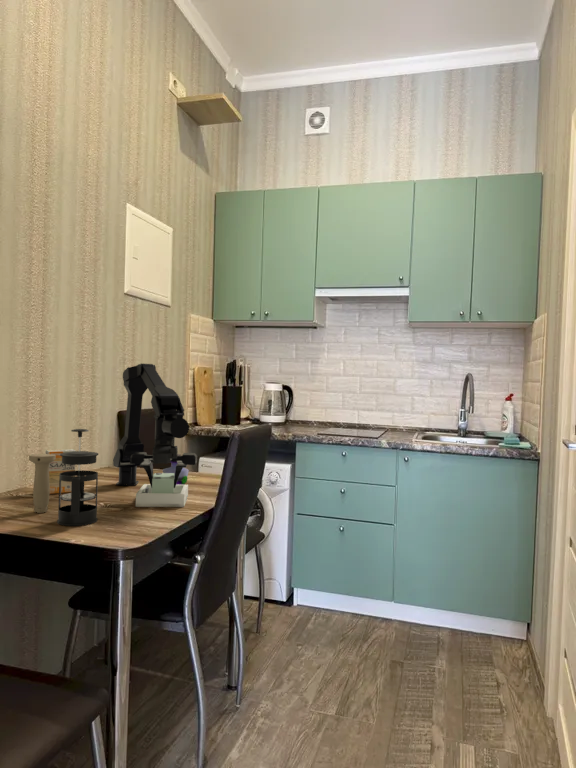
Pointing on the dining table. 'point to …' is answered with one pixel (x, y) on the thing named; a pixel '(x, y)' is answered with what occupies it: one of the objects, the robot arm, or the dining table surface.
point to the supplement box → (56, 469)
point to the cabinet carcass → (161, 497)
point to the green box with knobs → (163, 483)
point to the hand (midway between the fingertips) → (163, 487)
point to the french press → (78, 488)
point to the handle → (41, 481)
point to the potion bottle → (183, 474)
